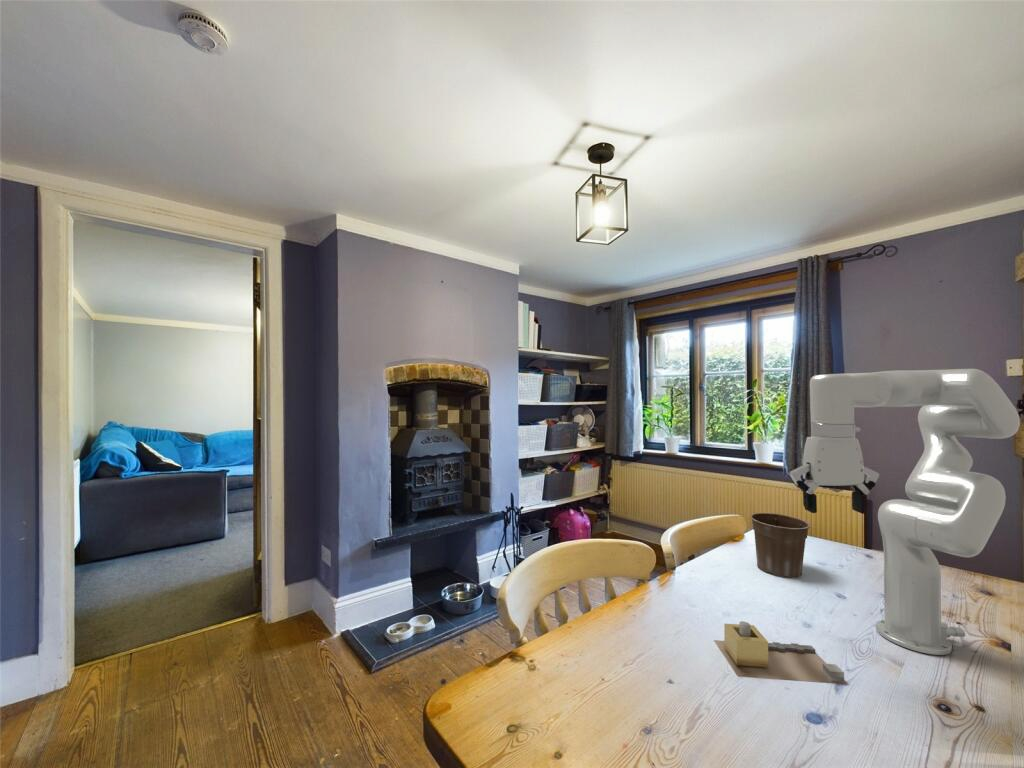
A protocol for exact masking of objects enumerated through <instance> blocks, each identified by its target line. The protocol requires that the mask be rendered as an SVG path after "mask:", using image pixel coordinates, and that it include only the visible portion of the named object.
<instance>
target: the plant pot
mask: <svg viewBox="0 0 1024 768" xmlns="http://www.w3.org/2000/svg"><path fill="white" fill-rule="evenodd" d="M749 518H750V519H751V523H752V529H753V531H754V532H753V533H754V541H755V542H754V543H755V554H756V565H757V566H756V567H758V569H759V570H761V571H763V572H765V573H770V574H772V575H774V576H776V577H780V578H781V577H782V578H788V579H790V578H791V579H795V578H799V577H800V576H802V575H803V565H804V564H803V563H804V557H805V556H804V555H805V548H806V541H807V540H806V539H808V534H809V529H810V528H811V524H810V523H809V522H807V521H806V520H804V519H801V518H799V517H794V516H790V515H787V514H786V515H785V514H780V513H773V512H757V513H752V514H751V515H750V517H749Z"/></svg>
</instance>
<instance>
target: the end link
mask: <svg viewBox="0 0 1024 768" xmlns="http://www.w3.org/2000/svg"><path fill="white" fill-rule="evenodd" d="M723 628H724V636H723V637H724V640H723V641H724V647H725V649H726V650H727V652H728V653H729V655H730V656H731V658H732V659H733V660H734V662H735V663H736V665H743V666H757V667H768V643H769V641H768V640H767V638H765V636H764V635H763V634H762V633H761V632H760V630H758V629H757V627H756V626H755V625H754V624H753V625H752V624H750V637H740V636H739V624H737V623H724V627H723Z"/></svg>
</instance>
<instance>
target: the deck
mask: <svg viewBox="0 0 1024 768" xmlns="http://www.w3.org/2000/svg"><path fill="white" fill-rule="evenodd" d="M750 625H751V624H750V623H749V622H746V621H743V620H742V621H739V636H740V637H750ZM713 642H714V643H715V645H716V646H717V648H718V649H719V651H720V652H721V654H722V656H723V657H724V658H725V659H726V662H727V663H728V664H729V665H730V667H731V668H732V671H734V673H735V675H736V676H737V677H740V678H755V679H767V680H768V679H769V680H779V681H780V680H781V681H782V680H783V681H794V682H795V681H797V682H809V683H810V682H811V683H823V684H838V685H848V683H847V682H846V681H845V672H844V671H843V670H842V669H841V668H840V667H839V666H838V664H835V663H827V661H825V660H824V659H823V658H822V657H821V656H820V655H819V654H817V653H816V648H814V647H813V646H812V645H809V644H808V645H807V644H806V645H805V644H799V643H793V642H791V644H789V643H781V642H777V641H772V642H768V667H757V666H743V665H736V663H735V662H734V660H733V659H732V658H731V656H730V655H729V653H728V652H727V650H726V649H725V647H724V640H718V639H717V640H715V639H714V640H713Z"/></svg>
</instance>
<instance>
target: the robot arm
mask: <svg viewBox="0 0 1024 768" xmlns="http://www.w3.org/2000/svg"><path fill="white" fill-rule="evenodd" d="M809 399H810V400H809V403H810V404H809V405H810V406H809V408H810V409H809V411H810V436H807V437H806V440H805V444H804V449H803V457H802V465H800V466H799V467H796V468H795V469H793V470H791V471H789V473H788V474H789V476H790V478H791V479H792V481H793V484H794V485H795V486H796V487H797V488H798V489H799V490H800V491H801V492H802V502H803V503H802V505H803V507H804V509H805V510H806V511H808V512H810V513H812V514H816V513H817V512H818V509H817V508H818V506H817V505H818V504H817V502H818V501H817V495H816V494H815V493H814V492H815V491H816V490H817V489H818V488H819V487H820V486H827V487H828V486H832V487H833V486H837V487H838V486H839V487H840V486H841V487H842V486H844V487H845V486H846V487H847V486H849V487H851V488H852V489H853V490H852V491H851V507H852V509H851V510H853V511H855V512H857V513H860V514H863V515H865V514H867V507H868V504H867V502H868V501H867V499H868V498H867V496H868V495H869V494H870V493H871V490H872V489H874V488H875V486H876V482H877V481H878V479H879V477H880V473H879V472H877V471H875V470H873V469H871V468H868V467H866V466H864V458H863V457H864V456H863V452H862V448H861V445H860V444H861V443H860V440H859V438H857V437H856V436H857V435H856V433H861V426H859V425H856V423H855V408H877V407H878V408H879V407H882V408H905V407H920V408H919V410H918V414H917V421H918V426H919V430H920V434H921V437H922V440H923V445H924V449H923V453H922V455H921V457H920V458H919V459H918V461H917V463H916V464H915V466H914V468H913V470H911V473H910V475H909V476H908V478H907V480H906V483H905V486H904V489H905V494H906V496H907V497H908V498H909V499H901V498H897V499H889V500H886V501H884V502H883V503H882V504H880V506H879V507H878V511H877V521H878V525H879V529H880V535H881V538H882V539H881V540H882V547H883V583H884V584H883V586H884V587H883V590H884V591H883V593H884V597H883V598H884V600H883V602H884V603H883V604H884V606H883V607H884V609H883V610H884V619H881V620H878V621H877V622H876V623H875V629H876V631H877V632H878V633H879V635H881V636H882V637H883V638H885V639H886V640H888V641H890V642H892V643H893V644H895V645H898V646H899V647H900V646H901V647H903V648H906V649H907V650H911V651H915V652H919V653H922V654H928V655H934V656H944V655H949V654H951V653H952V652H953V651H952V643H951V642H950V641H949V640H948V638H951V637H954V638H955V637H956V638H958V637H959V638H965V637H966V632H965V630H964V629H963V628H962V627H961V626H960V627H957V626H948V625H947V623H946V622H943V621H942V581H941V580H942V578H941V577H942V575H941V574H942V573H941V565H940V564H939V561H938V559H937V557H936V555H935V554H934V552H933V551H932V550H934V551H937V552H942V553H945V554H949V555H952V556H957V557H962V558H973V557H977V555H980V553H981V552H982V551H983V550H984V548H985V546H986V544H987V543H988V541H989V539H990V537H991V536H992V534H993V532H994V530H995V527H996V525H998V522H999V520H1000V518H1001V516H1002V514H1003V511H1004V509H1005V506H1006V498H1007V496H1006V490H1005V487H1004V485H1003V484H1002V482H1001V481H1000V480H998V479H997V478H995V477H993V476H991V475H990V474H985V473H982V472H975V471H970V470H971V469H972V467H973V463H974V460H973V457H972V455H971V453H970V452H969V451H968V449H967V448H965V447H964V445H962V443H960V442H959V440H958V439H957V437H966V438H981V439H992V440H994V439H996V440H997V439H998V440H1001V439H1007V438H1010V437H1013V436H1014V435H1015V434H1017V433H1018V432H1019V428H1020V426H1021V420H1020V415H1019V413H1018V411H1017V409H1016V407H1015V406H1014V404H1013V402H1012V401H1011V400H1010V399H1009V398H1008V396H1007V394H1006V393H1005V392H1004V391H1003V389H1002V388H1001V386H1000V384H999V383H997V382H996V380H995V379H993V377H992V376H991V375H989V373H986V372H985V371H983V370H981V369H977V368H954V369H953V368H952V369H949V368H948V369H921V370H920V369H916V370H913V369H912V370H909V369H908V370H903V369H901V370H900V369H899V370H896V369H895V370H885V371H875V372H873V371H872V372H858V373H857V372H851V373H850V372H848V373H828V374H827V373H825V374H824V373H823V374H815V375H813V376H812V377H811V378H810V380H809ZM865 475H866V479H865ZM801 477H802V478H803V480H804V481H803V480H802V478H801Z"/></svg>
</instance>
